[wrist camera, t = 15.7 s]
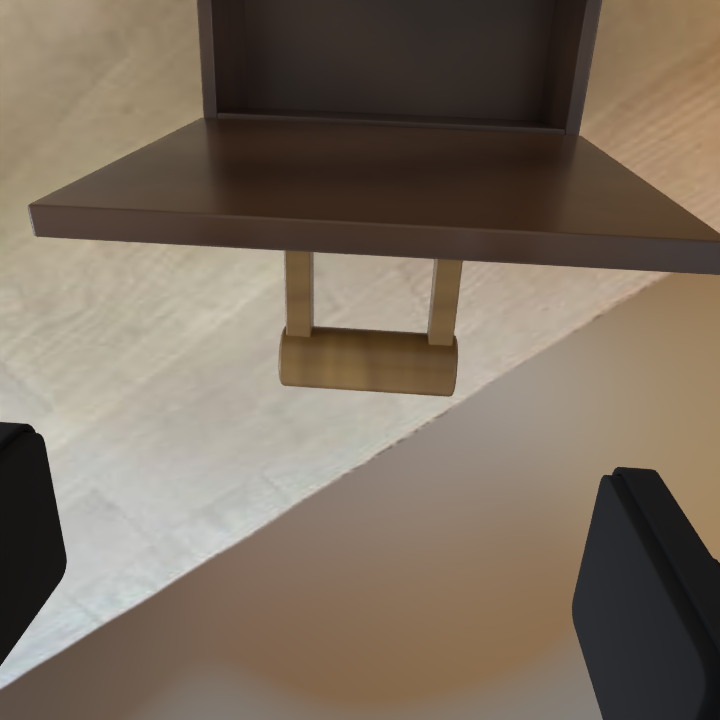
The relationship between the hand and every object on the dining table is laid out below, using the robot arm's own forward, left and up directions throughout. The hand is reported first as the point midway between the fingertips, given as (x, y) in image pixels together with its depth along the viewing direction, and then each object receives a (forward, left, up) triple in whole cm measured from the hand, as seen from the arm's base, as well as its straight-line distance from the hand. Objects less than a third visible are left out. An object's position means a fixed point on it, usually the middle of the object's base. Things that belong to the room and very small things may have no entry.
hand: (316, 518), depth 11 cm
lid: (-4, 0, -13) cm, 14 cm away
